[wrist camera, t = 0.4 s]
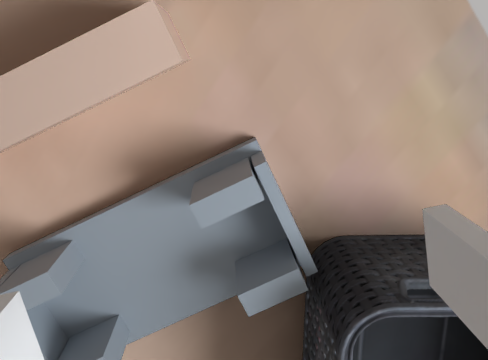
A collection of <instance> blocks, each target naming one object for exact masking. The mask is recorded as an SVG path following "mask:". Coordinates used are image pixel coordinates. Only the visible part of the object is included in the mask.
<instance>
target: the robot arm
mask: <svg viewBox="0 0 488 360" xmlns="http://www.w3.org/2000/svg"><path fill="white" fill-rule="evenodd" d="M422 210H423V221H424V231H425V242H426V252H427V262H428V273H429V283H430V286H431V287H432V288H433V289H434V291H435V292H436V293H437V294H438V295H439V296H440V297H441V298H442V299H443V301H444V302H445V303H446V304H447V305H448V306H449V307H450V308H451V309H452V311H453V312H454V313H455V314H456V315H457V316H458V317H459V318H460V319H461V320H462V322H463V323H464V324H465V325H466V326H467V327H468V328H469V329H470V330H471V332H472V333H473V334H474V335H475V336H476V337H477V338H478V339H479V340H480V341H481V343H482V344H483V345H484V346H485V347H486V348H487V349H488V232H487V231H485V230H484V229H482V228H481V227H479V226H478V225H476V224H475V223H473V222H472V221H470V220H469V219H467V218H466V217H464V216H463V215H461V214H460V213H459V212H457V211H456V210H454V209H453V208H451V207H450V206H448V205H447V204H444V205H439V206H434V207H429V208H424V209H422ZM0 360H44V357H43V354H42V352H41V349H40V346H39V344H38V341H37V338H36V335H35V333H34V330H33V327H32V325H31V322H30V319H29V316H28V314H27V311H26V308H25V306H24V303H23V300H22V297H21V295H20V292H19V291H16V292H11V293H6V294H1V295H0Z"/></svg>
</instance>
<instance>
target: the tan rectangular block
mask: <svg viewBox="0 0 488 360" xmlns="http://www.w3.org/2000/svg"><path fill="white" fill-rule="evenodd" d="M190 60H191V58H190V56H189V54H188V52H187V50H186V48H185V46H184V44H183V41H182V39H181V37H180V35H179V33H178V31H177V29H176V27H175V25H174V23H173V21H172V19H171V17H170V15H169V13H168V12H167V11H166V10H165V9H164V8H162V7H161V6H160V5H159V4H158V3H156V2H155V1H154V0H151V1H149V2H147V3H145V4H143V5H141V6H139V7H137V8H135V9H133V10H131V11H129V12H127V13H125V14H123V15H121V16H119V17H117V18H115V19H113V20H111V21H109V22H107V23H105V24H103V25H101V26H99V27H97V28H95V29H93V30H91V31H89V32H87V33H85V34H83V35H81V36H79V37H77V38H75V39H73V40H71V41H69V42H67V43H65V44H63V45H61V46H59V47H57V48H55V49H53V50H51V51H49V52H47V53H45V54H43V55H41V56H39V57H37V58H35V59H33V60H31V61H29V62H27V63H25V64H23V65H21V66H19V67H17V68H15V69H13V70H11V71H9V72H7V73H5V74H3V75H1V76H0V153H2V152H4V151H6V150H8V149H10V148H12V147H14V146H16V145H18V144H20V143H22V142H24V141H26V140H29V139H31V138H33V137H35V136H37V135H39V134H41V133H43V132H45V131H47V130H49V129H51V128H53V127H55V126H57V125H59V124H61V123H63V122H65V121H67V120H69V119H71V118H73V117H75V116H78V115H80V114H82V113H84V112H86V111H88V110H90V109H92V108H94V107H96V106H98V105H100V104H102V103H104V102H106V101H108V100H110V99H112V98H114V97H116V96H118V95H120V94H122V93H125V92H127V91H129V90H131V89H133V88H135V87H137V86H139V85H141V84H143V83H145V82H147V81H149V80H151V79H153V78H155V77H157V76H159V75H161V74H163V73H165V72H167V71H169V70H172V69H174V68H176V67H178V66H180V65H182V64H184V63H186V62H188V61H190Z"/></svg>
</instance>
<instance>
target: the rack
mask: <svg viewBox="0 0 488 360" xmlns="http://www.w3.org/2000/svg"><path fill="white" fill-rule="evenodd" d="M3 262H4V264H5V265H6V267H7V268H8V270H9V271H8V272H7V273H6V274H5V275H4V276H3V277H2V278H1V279H0V295H1V294H6V293H11V292H16V291H19V292H20V295H21V297H22V300H23V303H24V306H25V308H26V311H27V314H28V316H29V319H30V322H31V325H32V327H33V330H34V333H35V335H36V338H37V341H38V344H39V346H40V349H41V352H42V354H43V357H44V360H121V359H122V356H123V353H124V349H125V346H126V345H127V344H129V343H131V342H134V341H136V340H138V339H140V338H142V337H145V336H147V335H149V334H151V333H154V332H156V331H158V330H160V329H162V328H165V327H167V326H169V325H171V324H173V323H176V322H178V321H180V320H182V319H185V318H187V317H189V316H191V315H193V314H196V313H198V312H200V311H202V310H205V309H207V308H209V307H211V306H213V305H216V304H218V303H220V302H222V301H224V300H227V299H229V298H231V297H233V296H236V295H237V296H238V298H239V300H240V302H241V303H242V305H243V307H244V309H245V311H246V313H247V315H248V317H250V316H252V315H254V314H256V313H259V312H261V311H263V310H265V309H268V308H270V307H272V306H274V305H277V304H279V303H281V302H283V301H286V300H288V299H290V298H292V297H295V296H297V295H299V294H301V293H304V292H306V291H308V288H307V285H306V283H305V280H304V277H303V275H302V272H301V269H300V266H302V268H303V270H304V272H305V274H306V277H307V276H309V275H312V274H314V273H316V272H318V270H317V268H316V266H315V264H314V262H313V259H312V257H311V254H310V252H309V250H308V248H307V246H306V244H305V242H304V240H303V237H302V235H301V233H300V231H299V229H298V227H297V225H296V223H295V220H294V218H293V216H292V214H291V212H290V210H289V208H288V206H287V203H286V201H285V199H284V197H283V195H282V193H281V191H280V189H279V187H278V184H277V182H276V180H275V178H274V176H273V174H272V172H271V170H270V167H269V165H268V163H267V161H266V159H265V157H264V155H263V153H262V150H261V148H260V146H259V144H258V142H257V140H256V138H255V137H254V138H252V139H250V140H248V141H245V142H243V143H241V144H239V145H237V146H235V147H233V148H231V149H229V150H226V151H224V152H222V153H220V154H218V155H216V156H214V157H212V158H210V159H208V160H205V161H203V162H201V163H199V164H197V165H195V166H193V167H191V168H189V169H187V170H184V171H182V172H180V173H178V174H176V175H174V176H172V177H170V178H168V179H165V180H163V181H161V182H159V183H157V184H155V185H153V186H151V187H149V188H147V189H144V190H142V191H140V192H138V193H136V194H134V195H132V196H130V197H128V198H125V199H123V200H121V201H119V202H117V203H115V204H113V205H111V206H109V207H107V208H104V209H102V210H100V211H98V212H96V213H94V214H92V215H90V216H88V217H86V218H83V219H81V220H79V221H77V222H75V223H73V224H71V225H69V226H67V227H64V228H62V229H60V230H58V231H56V232H54V233H52V234H50V235H48V236H46V237H43V238H41V239H39V240H37V241H35V242H33V243H31V244H29V245H27V246H24V247H22V248H20V249H18V250H16V251H14V252H12V253H10V254H9V255H8V256H7V257H6V258H5V259H4V260H3Z"/></svg>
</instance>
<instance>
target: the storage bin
mask: <svg viewBox="0 0 488 360" xmlns="http://www.w3.org/2000/svg"><path fill="white" fill-rule="evenodd" d="M311 257H312V259H313V262H314V264H315V266H316V268H317V270H318V272H316V273H314V274H312V275H309V276H307V278H306V285H307V288H308V291H306V298H305V319H304V340H303V360H488V349H487V348H486V347H485V346H484V345H483V344H482V343H481V341H480V340H479V339H478V338H477V337H476V336H475V335H474V334H473V333H472V332H471V330H470V329H469V328H468V327H467V326H466V325H465V324H464V323H463V322H462V320H461V319H460V318H459V317H458V316H457V315H456V314H455V313H454V312H453V311H452V309H451V308H450V307H449V306H448V305H447V304H446V303H445V302H444V301H443V299H442V298H441V297H440V296H439V295H438V294H437V293H436V292H435V291H434V289H433V288H432V287H431V286H430V283H429V273H428V262H427V252H426V242H425V235H381V236H340V237H336V238H333V239H330V240H328V241H326V242H325V243H323V244H322V245H321V246H319V247H318V248H317V249H316V250H315V252H314V253H313V254H312V256H311Z"/></svg>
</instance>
